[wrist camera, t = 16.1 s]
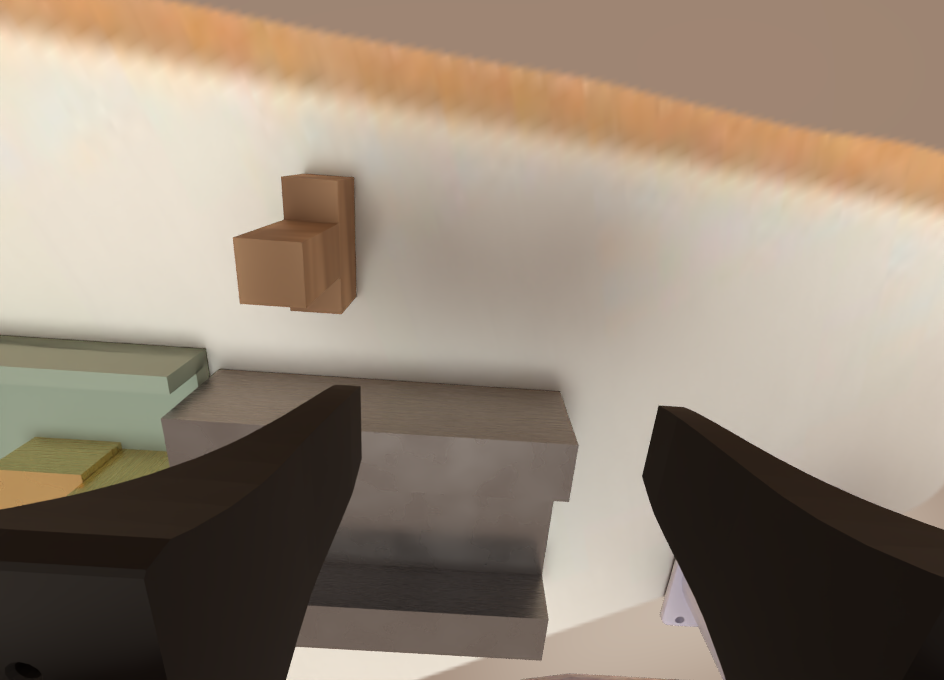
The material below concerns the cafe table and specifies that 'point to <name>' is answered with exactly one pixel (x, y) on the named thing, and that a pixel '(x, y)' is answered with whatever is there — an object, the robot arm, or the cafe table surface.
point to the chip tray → (92, 390)
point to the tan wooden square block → (50, 468)
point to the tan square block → (124, 469)
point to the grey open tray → (418, 508)
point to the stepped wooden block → (303, 249)
